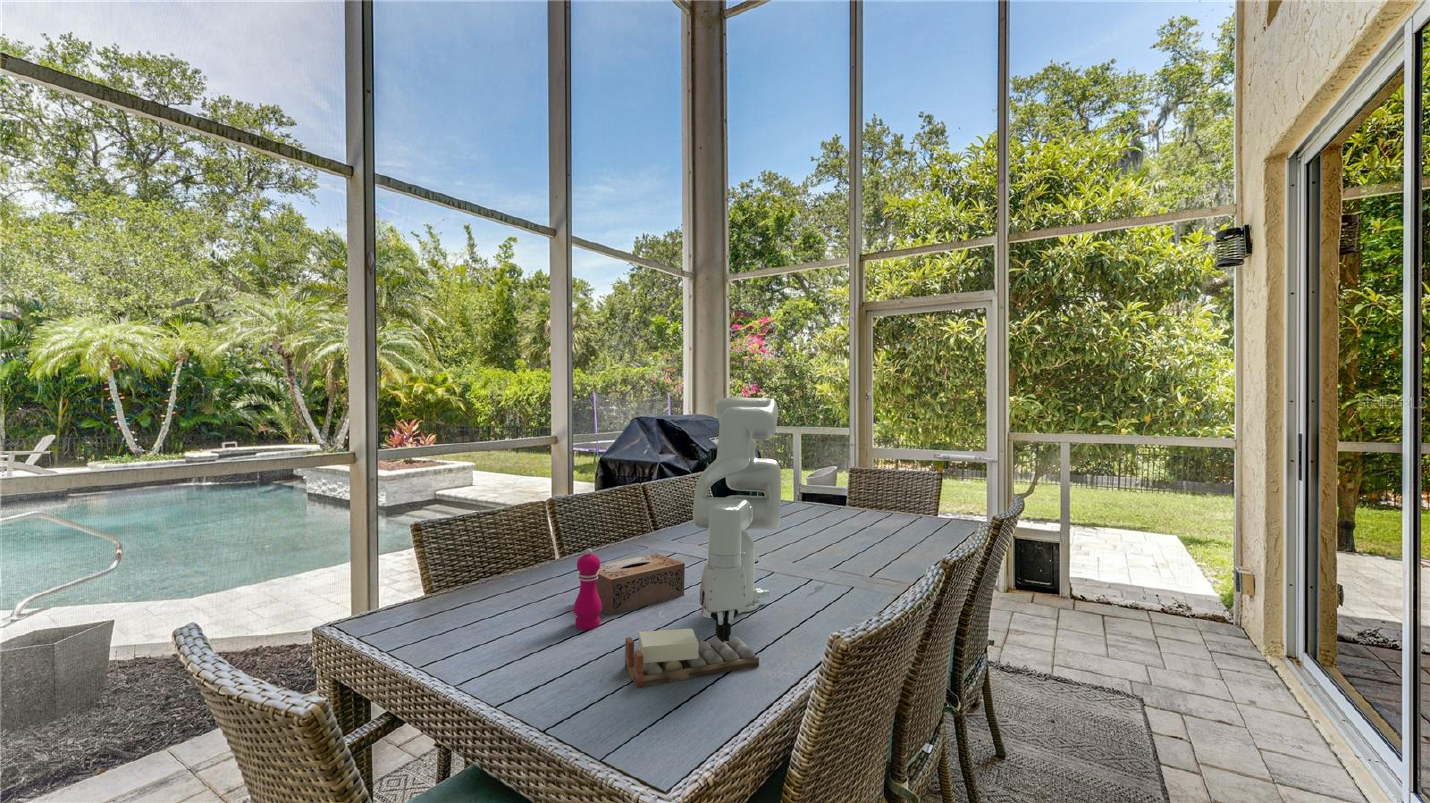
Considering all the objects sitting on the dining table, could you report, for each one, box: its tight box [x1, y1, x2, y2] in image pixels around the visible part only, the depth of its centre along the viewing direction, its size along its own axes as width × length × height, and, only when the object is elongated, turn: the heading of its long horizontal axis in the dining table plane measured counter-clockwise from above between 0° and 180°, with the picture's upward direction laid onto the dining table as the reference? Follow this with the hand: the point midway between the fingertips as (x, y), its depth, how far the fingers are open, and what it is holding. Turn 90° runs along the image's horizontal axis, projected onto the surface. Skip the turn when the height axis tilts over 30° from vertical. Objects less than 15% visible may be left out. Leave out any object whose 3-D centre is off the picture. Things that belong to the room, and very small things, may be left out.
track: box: [624, 635, 760, 689], centre depth 133 cm, size 28×10×6 cm, turn 113°
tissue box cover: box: [596, 552, 686, 616], centre depth 177 cm, size 26×14×10 cm, turn 132°
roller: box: [659, 660, 683, 672], centre depth 131 cm, size 7×4×4 cm, turn 22°
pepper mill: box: [573, 548, 603, 630], centre depth 156 cm, size 7×7×20 cm
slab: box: [638, 627, 700, 663], centre depth 132 cm, size 12×8×4 cm, turn 103°
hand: (723, 639), depth 136 cm, fingers closed
